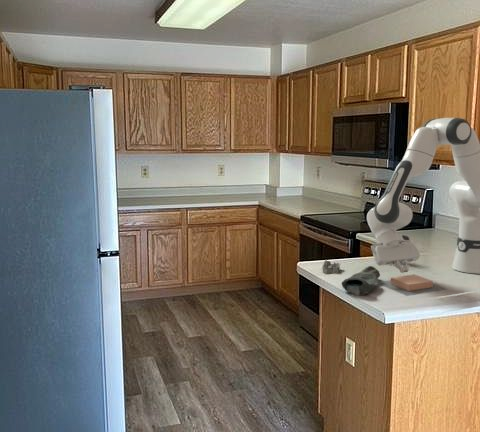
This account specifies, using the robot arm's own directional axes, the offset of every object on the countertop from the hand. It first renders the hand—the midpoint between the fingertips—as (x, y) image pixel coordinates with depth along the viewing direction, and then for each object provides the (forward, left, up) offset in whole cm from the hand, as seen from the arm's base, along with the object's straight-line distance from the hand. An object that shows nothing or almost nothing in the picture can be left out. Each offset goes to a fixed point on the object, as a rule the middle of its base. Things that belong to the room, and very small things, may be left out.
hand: (405, 271), depth 200 cm
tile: (0, -1, -3) cm, 4 cm away
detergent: (+17, -4, -6) cm, 18 cm away
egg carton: (+15, -29, -6) cm, 33 cm away
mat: (0, +3, -5) cm, 6 cm away
